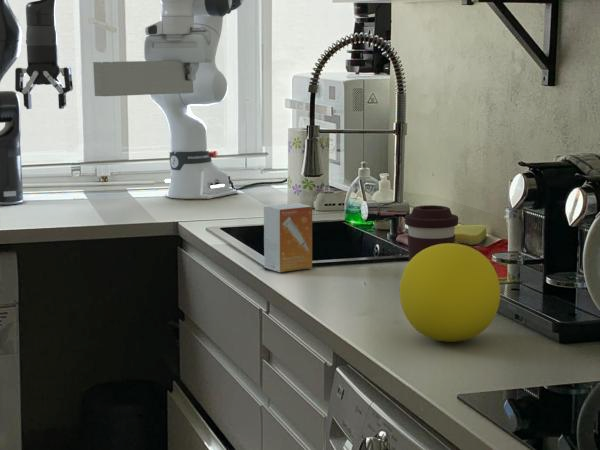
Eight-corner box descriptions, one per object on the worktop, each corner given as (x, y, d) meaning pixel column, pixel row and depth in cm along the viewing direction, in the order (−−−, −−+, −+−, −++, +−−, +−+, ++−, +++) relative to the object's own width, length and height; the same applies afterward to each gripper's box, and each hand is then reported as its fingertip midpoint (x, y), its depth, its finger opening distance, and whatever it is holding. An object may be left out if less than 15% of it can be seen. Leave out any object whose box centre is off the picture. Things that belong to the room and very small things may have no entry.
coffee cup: (400, 280, 202) (400, 204, 200) (450, 279, 203) (451, 203, 201) (409, 292, 193) (410, 212, 190) (462, 291, 193) (463, 211, 191)
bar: (104, 96, 264) (102, 61, 263) (94, 95, 269) (93, 62, 267) (193, 92, 280) (192, 60, 279) (182, 92, 285) (181, 60, 283)
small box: (280, 273, 210) (279, 209, 208) (263, 267, 216) (262, 205, 213) (313, 268, 215) (312, 205, 213) (296, 263, 220) (295, 202, 218)
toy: (466, 322, 171) (468, 232, 169) (517, 346, 157) (519, 249, 155) (383, 332, 166) (383, 239, 164) (428, 358, 152) (429, 257, 150)
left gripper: (74, 43, 266) (76, 107, 269) (19, 44, 267) (23, 108, 270) (64, 43, 259) (67, 109, 261) (9, 44, 260) (12, 109, 263)
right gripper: (217, 27, 276) (218, 80, 278) (154, 28, 285) (155, 79, 288) (203, 27, 270) (205, 81, 273) (139, 28, 280) (141, 80, 282)
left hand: (45, 108), depth 266 cm, fingers open, 8 cm apart
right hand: (179, 80), depth 280 cm, fingers closed on bar, 6 cm apart
